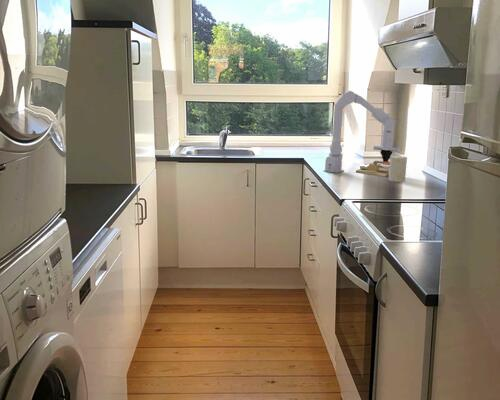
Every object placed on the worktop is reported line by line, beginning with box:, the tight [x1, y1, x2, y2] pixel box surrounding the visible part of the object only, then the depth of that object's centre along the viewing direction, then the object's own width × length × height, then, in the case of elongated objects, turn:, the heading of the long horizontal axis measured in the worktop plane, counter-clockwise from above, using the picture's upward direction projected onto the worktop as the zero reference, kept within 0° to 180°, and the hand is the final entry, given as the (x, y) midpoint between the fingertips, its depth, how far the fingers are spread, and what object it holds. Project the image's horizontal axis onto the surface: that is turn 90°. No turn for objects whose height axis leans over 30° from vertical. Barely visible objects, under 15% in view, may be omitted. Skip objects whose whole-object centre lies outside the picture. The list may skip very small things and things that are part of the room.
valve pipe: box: [359, 162, 390, 173], centre depth 305 cm, size 4×16×4 cm, turn 53°
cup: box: [388, 155, 408, 183], centre depth 285 cm, size 8×8×12 cm
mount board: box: [355, 168, 389, 177], centre depth 306 cm, size 10×17×1 cm, turn 53°
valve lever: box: [372, 160, 390, 166], centre depth 301 cm, size 12×2×2 cm, turn 49°
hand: (385, 164), depth 305 cm, fingers closed
